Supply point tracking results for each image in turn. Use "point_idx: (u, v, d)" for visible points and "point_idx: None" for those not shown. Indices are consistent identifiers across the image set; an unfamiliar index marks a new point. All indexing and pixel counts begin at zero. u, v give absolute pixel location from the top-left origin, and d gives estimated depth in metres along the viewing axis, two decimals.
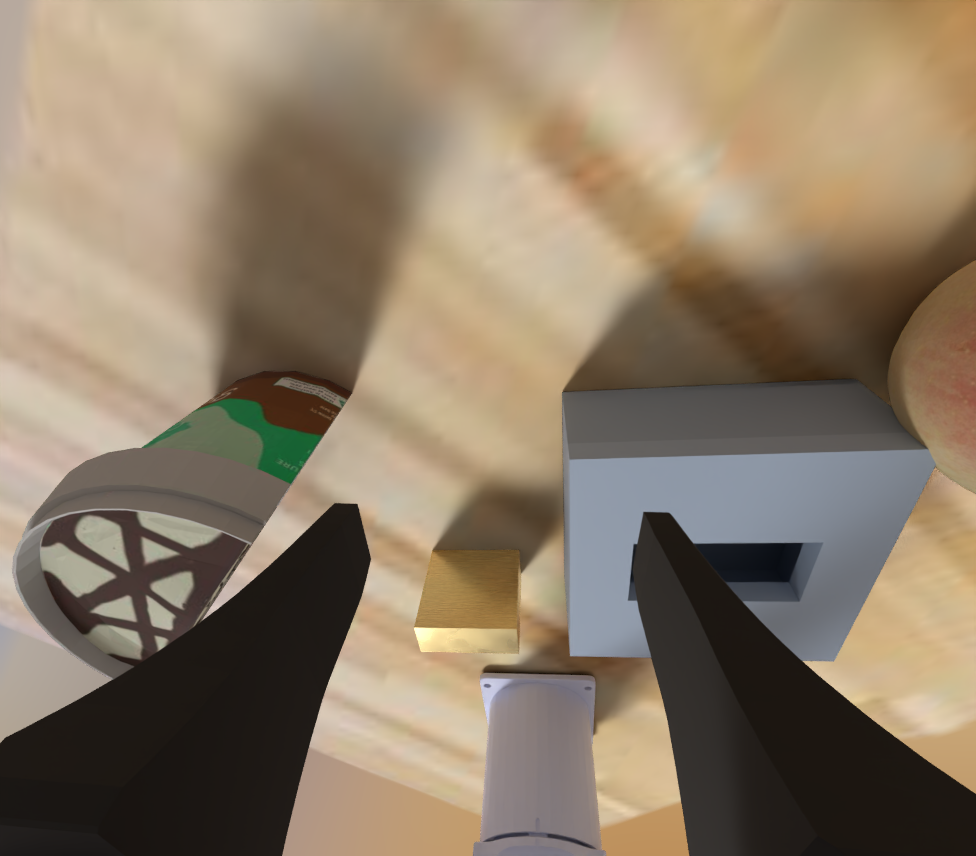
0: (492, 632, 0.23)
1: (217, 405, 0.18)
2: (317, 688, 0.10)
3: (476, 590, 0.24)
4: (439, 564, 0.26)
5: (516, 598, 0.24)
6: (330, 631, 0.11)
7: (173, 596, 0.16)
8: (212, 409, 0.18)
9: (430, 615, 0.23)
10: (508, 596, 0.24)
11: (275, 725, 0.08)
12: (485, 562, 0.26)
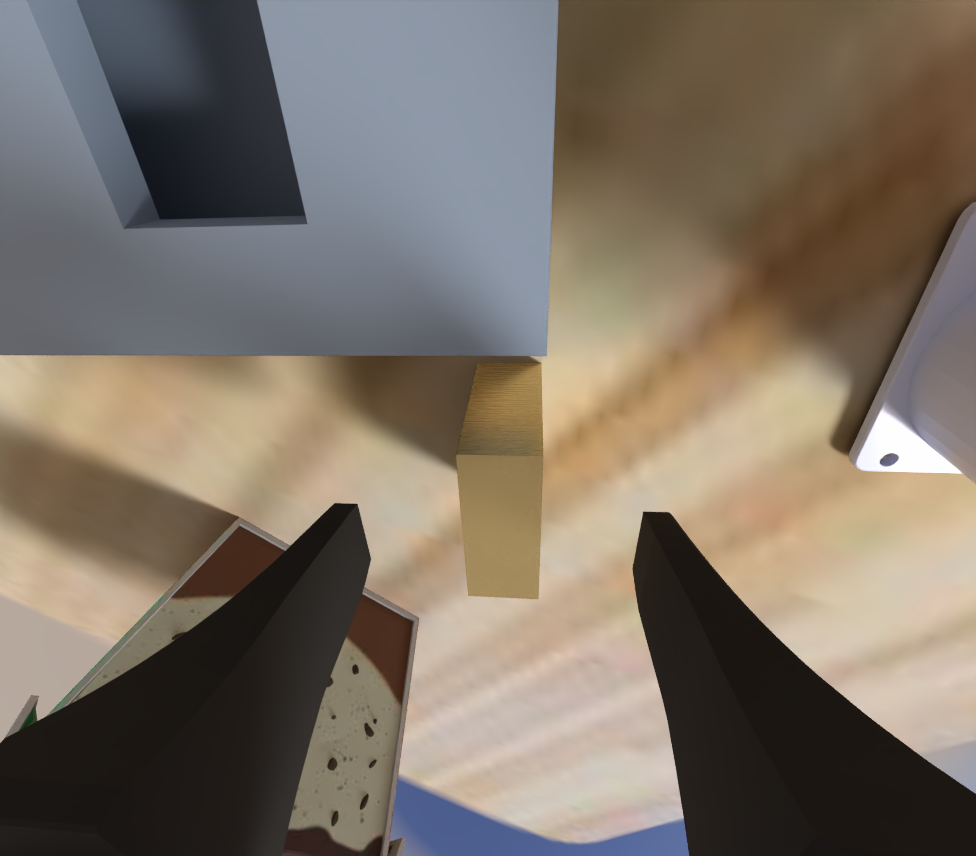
0: (471, 494, 0.11)
1: None
2: (317, 688, 0.10)
3: None
4: None
5: (465, 417, 0.12)
6: (330, 631, 0.11)
7: None
8: None
9: None
10: None
11: (275, 725, 0.08)
12: None
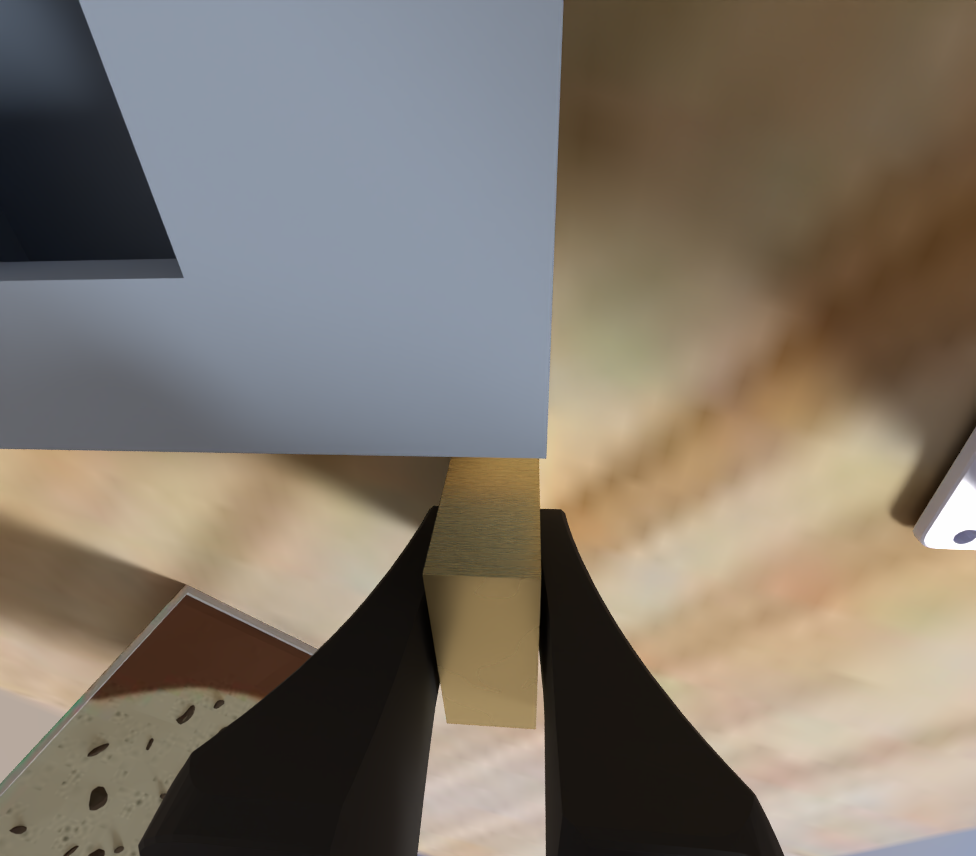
0: (445, 618, 0.09)
1: None
2: (433, 696, 0.10)
3: None
4: None
5: (439, 507, 0.09)
6: None
7: None
8: None
9: None
10: None
11: (413, 735, 0.08)
12: None
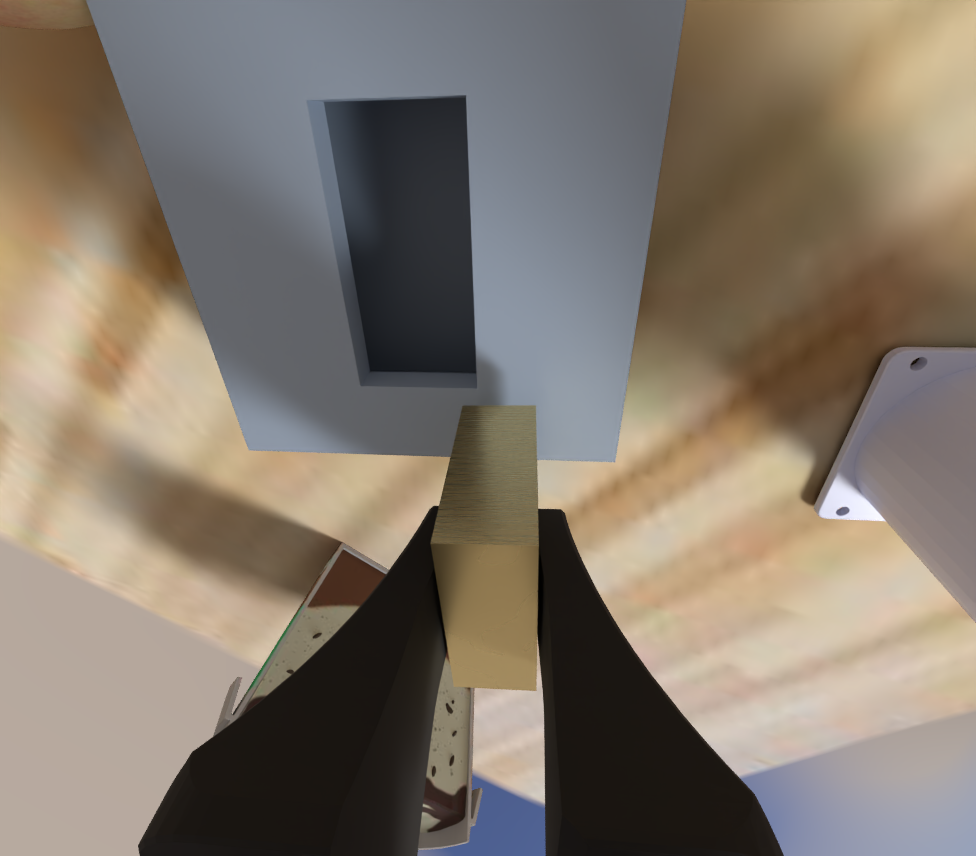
0: (452, 584, 0.09)
1: None
2: (433, 695, 0.10)
3: None
4: None
5: (444, 485, 0.10)
6: (441, 637, 0.10)
7: None
8: None
9: None
10: None
11: (413, 735, 0.08)
12: None
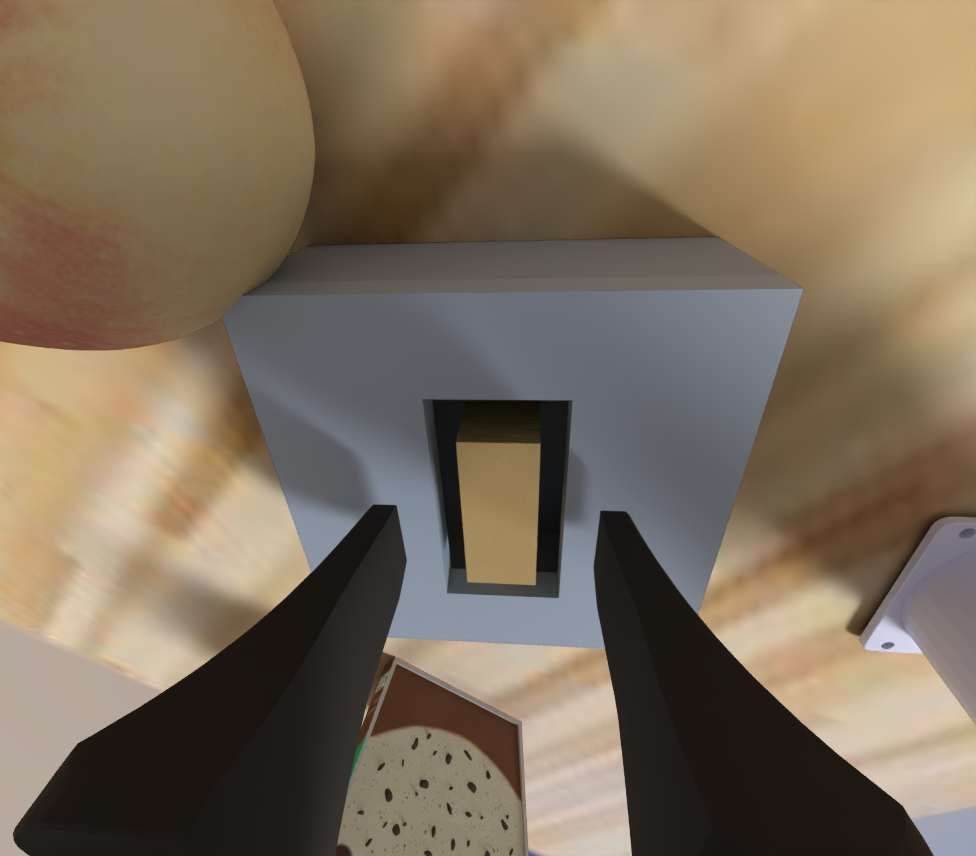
0: (471, 481, 0.12)
1: None
2: (362, 691, 0.10)
3: None
4: None
5: (464, 407, 0.13)
6: (374, 633, 0.11)
7: None
8: None
9: None
10: None
11: (329, 729, 0.08)
12: None
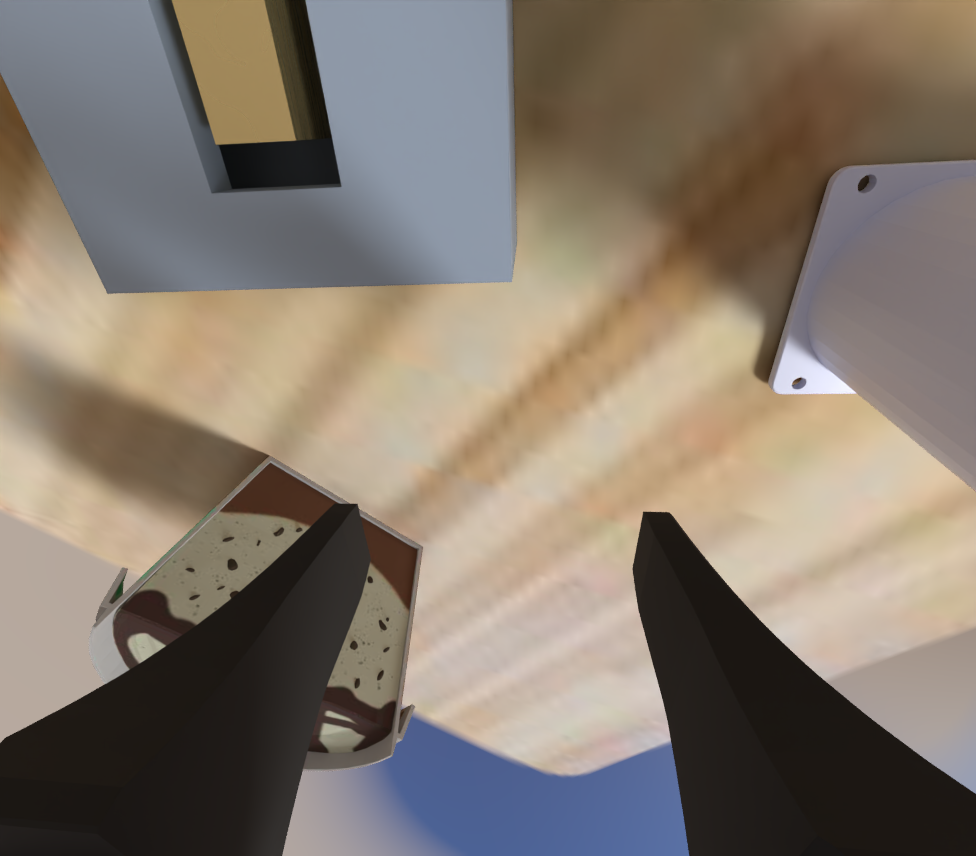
0: None
1: None
2: (317, 688, 0.10)
3: None
4: None
5: None
6: (330, 631, 0.11)
7: None
8: None
9: None
10: None
11: (275, 725, 0.08)
12: None
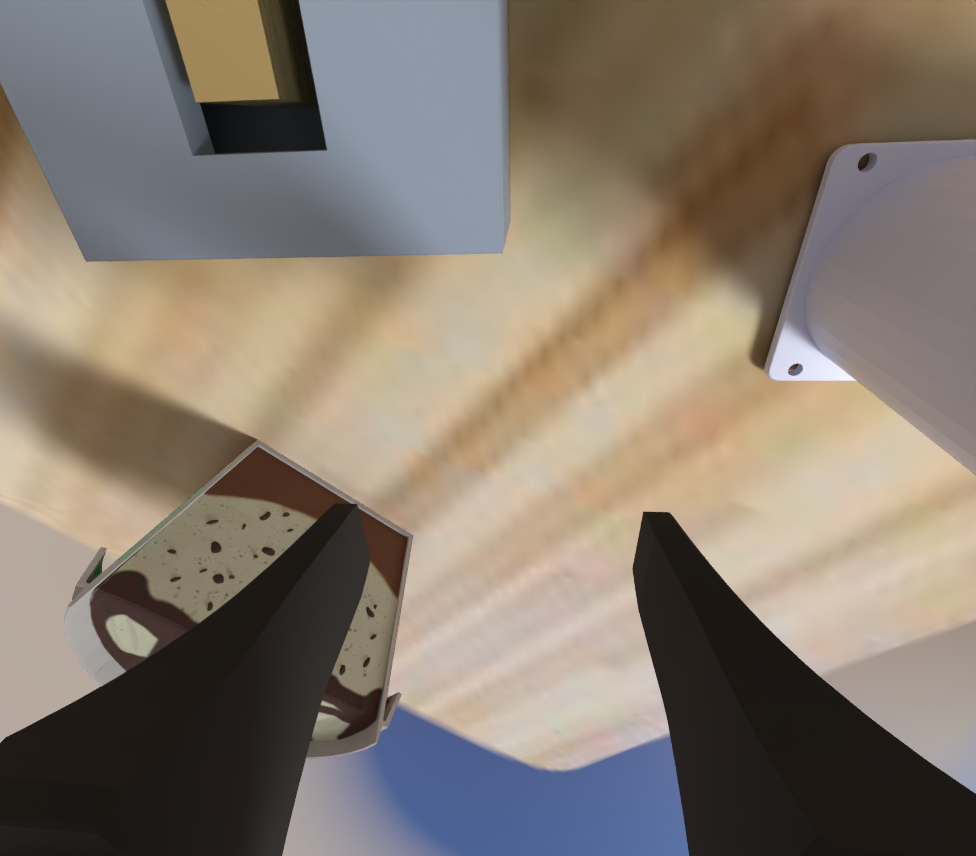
0: None
1: None
2: (317, 688, 0.10)
3: None
4: None
5: None
6: (330, 631, 0.11)
7: None
8: None
9: None
10: None
11: (275, 725, 0.08)
12: None
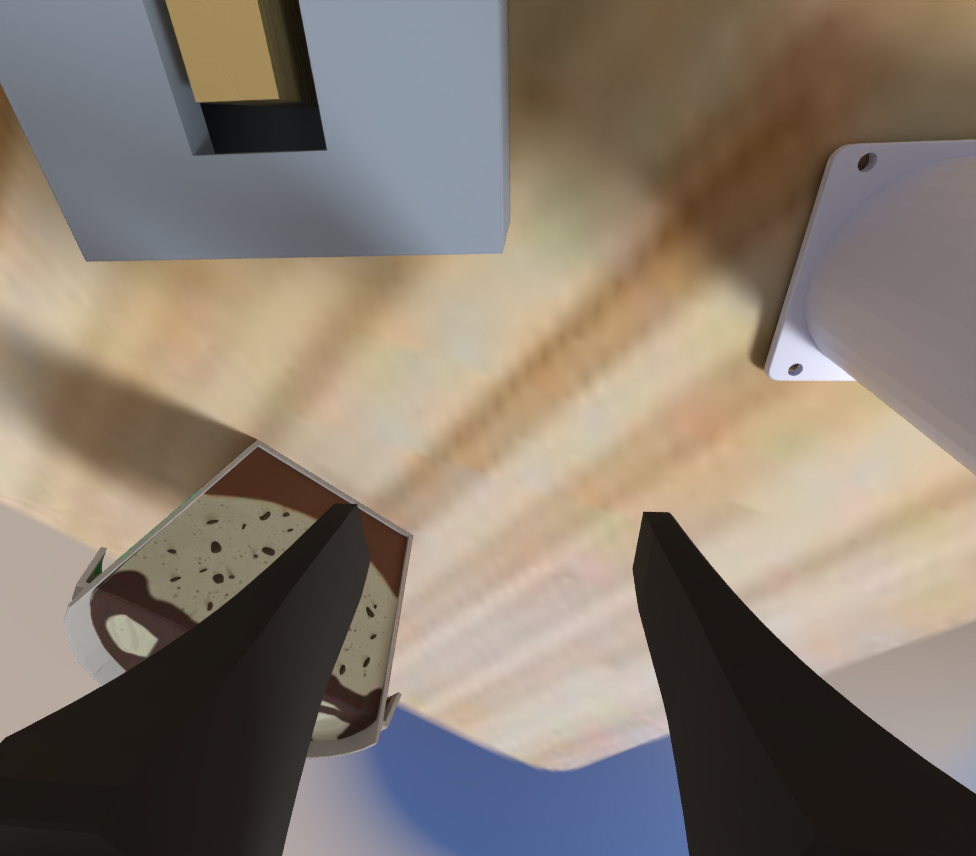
0: None
1: None
2: (317, 688, 0.10)
3: None
4: None
5: None
6: (330, 631, 0.11)
7: None
8: None
9: None
10: None
11: (275, 725, 0.08)
12: None
